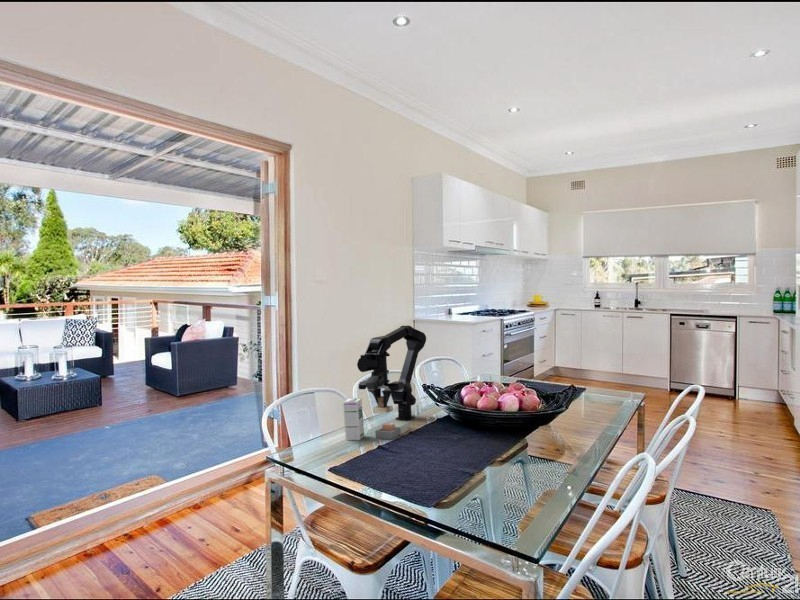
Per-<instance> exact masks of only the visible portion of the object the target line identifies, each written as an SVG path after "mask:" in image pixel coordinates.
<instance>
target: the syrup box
mask: <svg viewBox="0 0 800 600" xmlns="http://www.w3.org/2000/svg"><path fill="white" fill-rule="evenodd" d="M362 401H363V400H362V398H359V397H358V398H347V400H345V401H343V402H342V407H343V417H344V418H343V420H344V433H345V435H344V436H345V441H360V440H361V439H362V438H363V437H364V436H365V430H364V429H365V428H364V414H363V402H362Z"/></svg>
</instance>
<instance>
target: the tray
mask: <svg viewBox="0 0 800 600" xmlns="http://www.w3.org/2000/svg"><path fill="white" fill-rule="evenodd" d="M374 433H375V439H378V440H386V441H387V440H388V441H389V440H390V441H393V440H394V438H395V439H396V438H398V437H400V436H402V434H401V432H400V428H399V427H398V428H396V429H395V430H393V431H391V432H389V431H383V429H382V427H380V428H378V429H376V430H375V431H374ZM399 435H400V436H399ZM392 439H393V440H392Z"/></svg>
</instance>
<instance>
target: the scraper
mask: <svg viewBox="0 0 800 600" xmlns="http://www.w3.org/2000/svg"><path fill="white" fill-rule="evenodd" d="M393 406H394V405H390V404H387V406H386V407H384V396H383V395H381V396H380V397H378V405H376V406H374V407H372V413H373V414H385V415H386V414H389V413H390V412H392V411H393V410H394V407H393Z"/></svg>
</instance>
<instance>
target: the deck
mask: <svg viewBox="0 0 800 600" xmlns="http://www.w3.org/2000/svg"><path fill="white" fill-rule="evenodd" d="M389 423H390V424H395V429H396V428H398V427H399V428H400V432H401V435H403V434H405V433H406V432H405V431H407V430H408V429H409V430H410V422H409V421H408V422H407V421H400V420H399V421H396V420H392V421H391V422H389ZM409 430H408V431H409ZM408 431H407V432H408ZM404 432H405V433H404ZM402 433H403V434H402Z"/></svg>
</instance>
